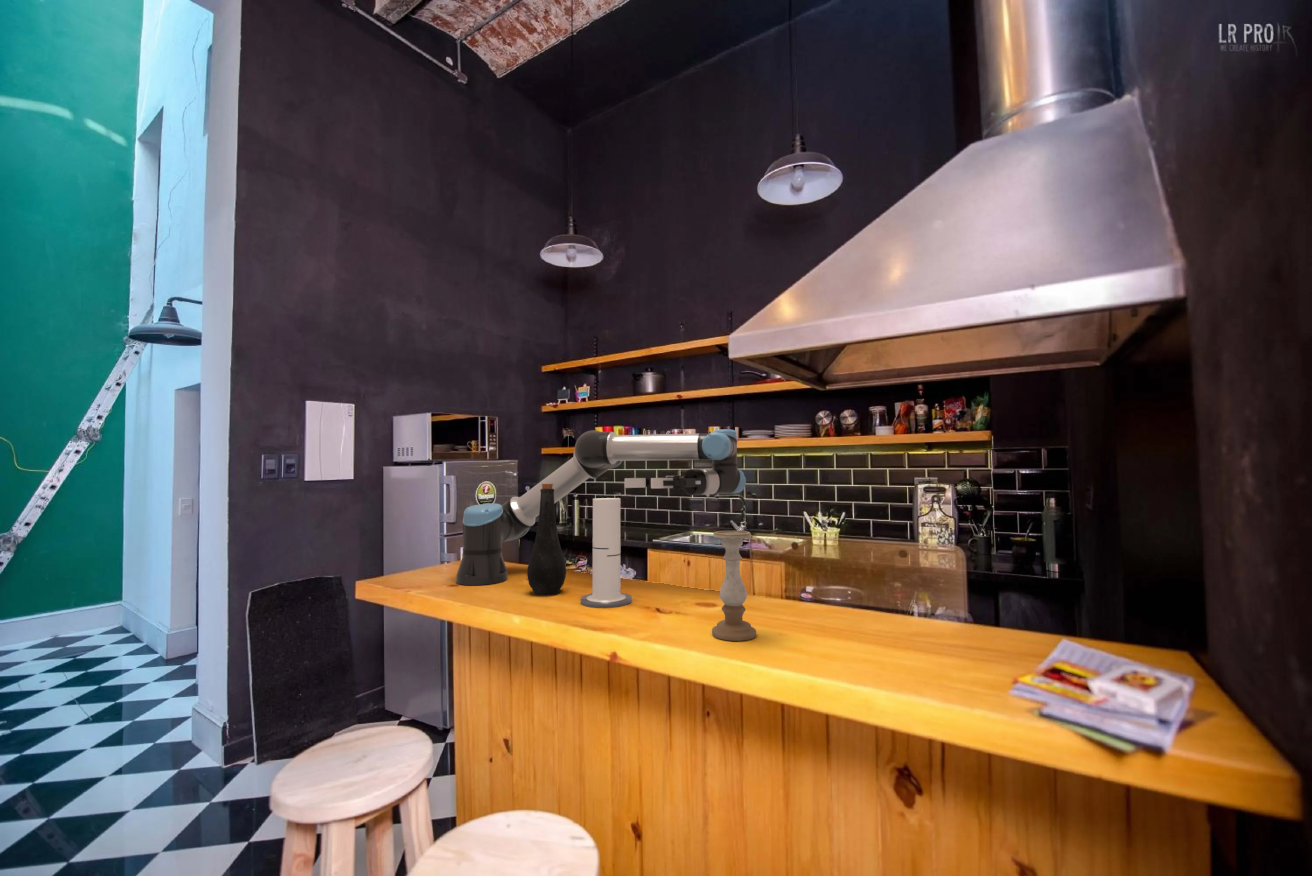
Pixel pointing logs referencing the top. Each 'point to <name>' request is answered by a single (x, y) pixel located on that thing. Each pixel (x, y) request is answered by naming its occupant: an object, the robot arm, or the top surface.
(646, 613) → the top surface
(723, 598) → the candle holder
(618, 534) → the cylindrical container
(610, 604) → the base plate
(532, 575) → the bottle
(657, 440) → the robot arm
